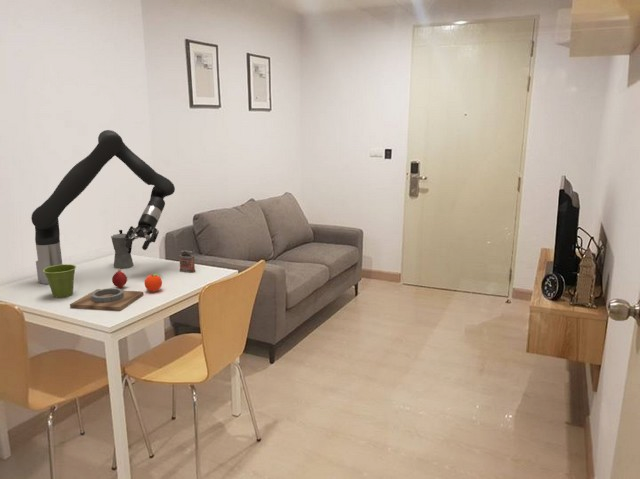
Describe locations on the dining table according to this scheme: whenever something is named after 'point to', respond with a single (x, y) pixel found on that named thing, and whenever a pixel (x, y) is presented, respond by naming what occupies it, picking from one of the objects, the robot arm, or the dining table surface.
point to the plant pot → (61, 279)
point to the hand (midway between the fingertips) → (135, 248)
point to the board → (113, 306)
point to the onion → (119, 279)
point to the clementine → (153, 282)
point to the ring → (113, 298)
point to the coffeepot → (121, 251)
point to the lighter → (187, 262)
